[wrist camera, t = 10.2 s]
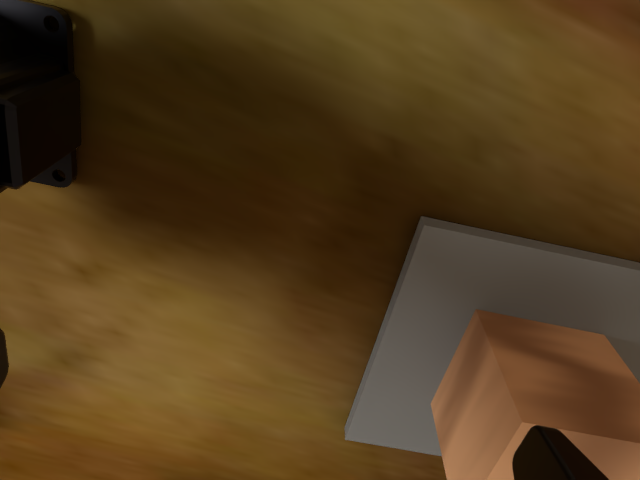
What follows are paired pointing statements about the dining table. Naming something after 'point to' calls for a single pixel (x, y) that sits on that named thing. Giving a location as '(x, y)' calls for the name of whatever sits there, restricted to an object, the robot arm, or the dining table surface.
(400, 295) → the mat
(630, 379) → the cube
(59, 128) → the robot arm
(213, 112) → the dining table surface
